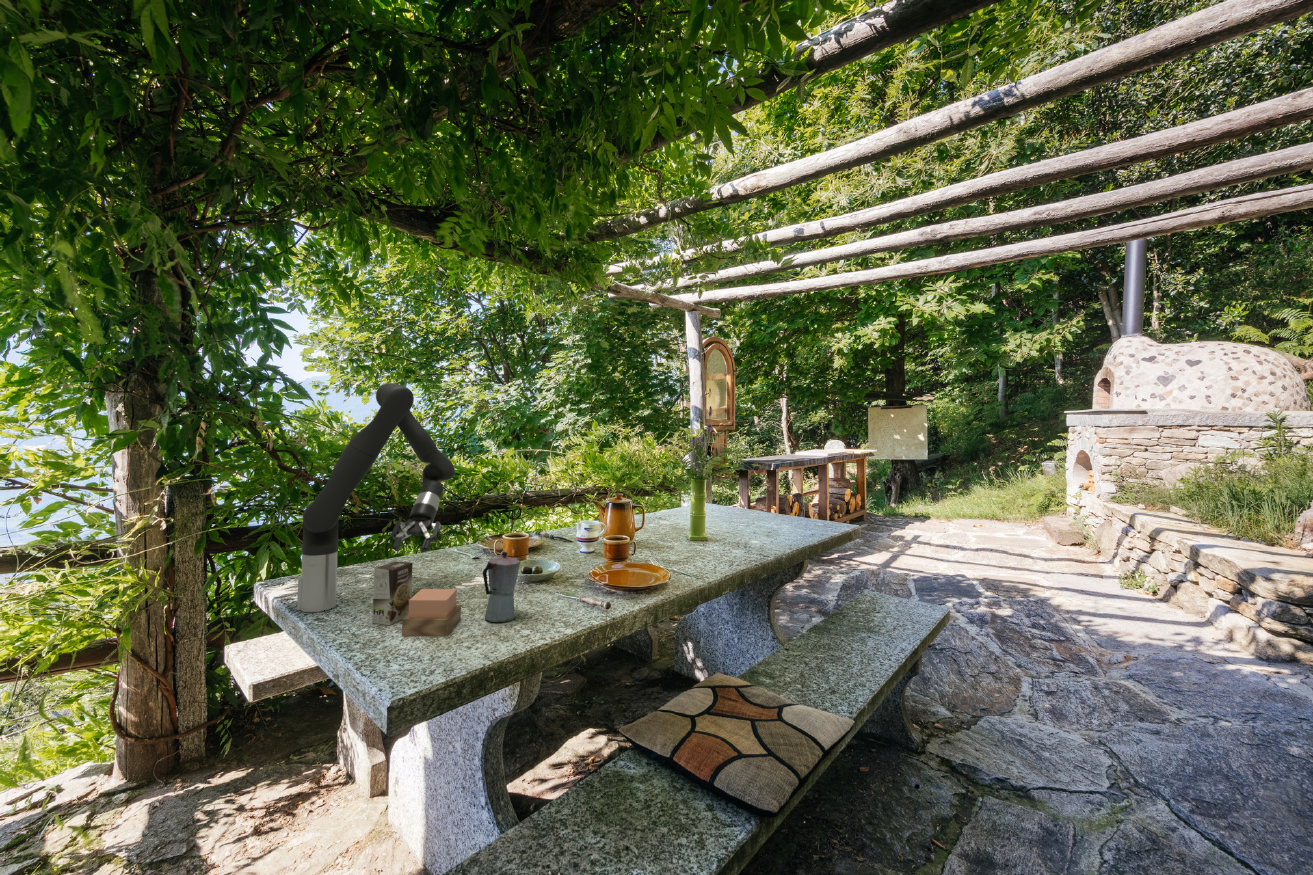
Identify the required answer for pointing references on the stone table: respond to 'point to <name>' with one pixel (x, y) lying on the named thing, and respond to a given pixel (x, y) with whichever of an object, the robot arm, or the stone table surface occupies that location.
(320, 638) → the stone table surface
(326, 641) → the stone table surface
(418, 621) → the tower base block
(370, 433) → the robot arm
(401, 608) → the coffee box
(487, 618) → the moka pot
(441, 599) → the tower top block
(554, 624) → the stone table surface
